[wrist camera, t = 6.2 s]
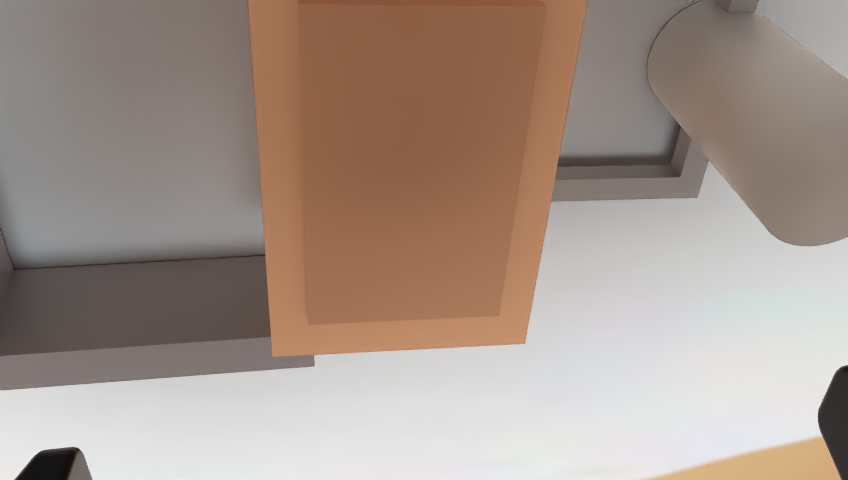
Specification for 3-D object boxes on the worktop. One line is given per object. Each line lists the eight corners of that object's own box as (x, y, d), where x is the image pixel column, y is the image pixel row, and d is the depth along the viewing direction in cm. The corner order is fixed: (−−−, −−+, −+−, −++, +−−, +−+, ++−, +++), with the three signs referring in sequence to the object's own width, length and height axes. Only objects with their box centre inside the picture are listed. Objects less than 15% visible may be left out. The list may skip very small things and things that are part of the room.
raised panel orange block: (715, 200, 21) (828, 344, 17) (275, 211, 19) (272, 376, 15) (822, -128, 16) (1018, -48, 12) (254, -150, 15) (240, -66, 10)
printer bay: (278, -262, 14) (278, -244, 11) (310, 283, 21) (314, 366, 18) (-238, -278, 13) (-360, -262, 10) (-19, 304, 20) (-60, 395, 17)
